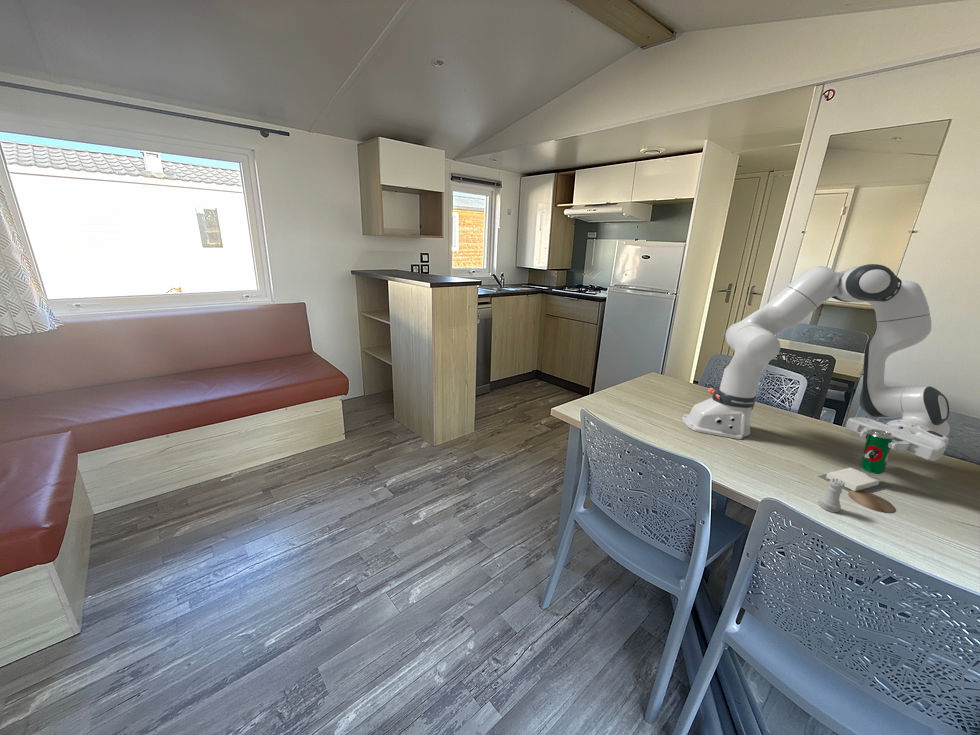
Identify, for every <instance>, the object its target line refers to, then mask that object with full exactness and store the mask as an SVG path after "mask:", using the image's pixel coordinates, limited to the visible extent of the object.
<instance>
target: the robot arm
mask: <svg viewBox="0 0 980 735" xmlns="http://www.w3.org/2000/svg"><path fill="white" fill-rule="evenodd" d="M831 298H832V299H834V300H837V301H839V302H844V303H864V302H866V303H868V304H870V305H871V307H872V308H873V310H874V313H875V320H876V330H875V333H874V335H873V336H872V337H871V338H869V339H868V340H867V342H866V344H865V347H864V348H865V349H864V353H863V354H864V356H863V370H862V384H861V385H862V386H861V391H860V394H859V405H860V406H859V407H860V408H861V409H862V410H863V411H864V412H865V413H866V414H868V415H869V416H870V417H873V418H891V417H892V418H899V419H894V420H890V421H888V422H886V423H884V422H881V421H877V420H875V419H873V418H868V417H864V416H862V417H861V416H859V417H858V416H857V417H849V418H848V419H847V421H846V424H845V428H846V429H847V431H851V432H854V433H856V434H859V438H862V439H865V440H866V439H867V435H868V432H870V430H871V429H878V430H883V431H887V432H890V433H891V434H892V437H893V441H892V442H889V444H888V448H890V450H893V451H894V450H898V451H899V450H900V451H904V452H906V453H909V454H911V455H913V456H916V457H919V458H922V459H924V460H927V461H932V462H935V461H938V460H940V459H941V457H942V456H943V455H944V452H945V451H946V449H947V447H948V444H949V438H948V436H949V434H950V431H951V430H950V429H951V428H950V425H949V424H950V423H949V422H948V421H947V420H948V418H949V415H950V405H949V401H948V398H947V397H946V396H945V395H944V394H943V393H942V392H941V391H940V390H939V389H937V388H936V387H933V386H925V385H923V386H922V385H921V386H918V385H916V386H912V385H910V386H890V385H889V386H888V385H886V384H885V371H886V369H885V368H886V361H887V359H888V358H889V356H891V355H892V354H894V353H896V352H899V351H902V350H905V349H906V348H910V347H912V346H916V345H917V344H919V343H921V342H923V341H924V340H925V339H926V338H927V337H928V336H929V335H930V333H931V331H932V317H931V311H930V307H929V303H928V301H927V300H928V299H927V297H926V295H925V293H924V291H923V289H922V287H921V285H920V284H919V283H918V282H915V281H913V280H901V278H900V277H898V276H897V275H896V274H895V272H893V270H891V268H889V267H887V266H885V265H883V264H876V263H870V264H869V263H868V264H865V265H859V266H854V267H851V268H848V269H846V270H842V271H839V272H837V271H835V270H834V269H833V268H830V267H828V266H821V265H820V266H814V267H812V268H810V269H809V270H807V271H805V272H803V273H802V274H801V275H799V276H798V277H796V278H795V279H794V280H792V282H790V283H789V284H788V285H786V287H784V288H783V289H782V290H781V291H780V292H778V293H777V294H776V296H774V297H773V298H772V299H770V300H769V301H768V302H767V303H765V304H764V305H763V306H762V307H761V308H759V309H757V310H756V311H754V312H753V313H751V314H750V315H747V317H745V318H743V319H742V320H740V321H738V322H735V323H733V324H731V325H730V326H729V327H728V328H727V329H726V331H725V337H724V338H725V340H726V343H727V345H728V347H729V348H731V349H732V350H733V351H734V354H733V356H732V359H731V360H730V362H729V364H728V365H727V366H725V368H724V370H723V374H722V378H721V380H720V381H721V382H720V386H719V388H718V389H716V390H715V388H713V387H709V388H708V390H707V391H708V393H710V395H712V396H711V397H710V398H707V399H705V400H703V401H701V402H697V403H696V404H694V405H693V406H692V408H691V410H690V412H689V413H684V414H683V415H682V418H681V420H682V421H683V423H684V424H685V426H686V427H688V428H690V430H693V431H694V432H698V433H701V434H702V433H703V434H709V435H714V436H718V437H719V436H720V437H724V438H731V439H735V440H742V439H743V438H744V437H747V436H750V435H751V415H752V411H753V409H754V407H755V403H756V398H757V397H756V393H757V390H758V387H759V383H760V380H761V377H762V375H763V373H764V371H765V369H766V368H767V366H768V365H769V363H770V362H771V360H773V359H775V358H776V357H777V355H779V353H780V351H781V342H780V340H779V339H778V337H777V336H776V335H778V334H779V333H780V334H781V333H782V332H784V331H785V330H788V329H792V328H794V327H796V326H797V325H798V324H800V323H801V322H803V320H804V319H805V318H807V317H808V316H809V315H810V314H812V313H813V312H814V311H815V310H816V309H818V308H819V306H821V305H822V304H823V303H825V302H826V301H827V300H829V299H831Z"/></svg>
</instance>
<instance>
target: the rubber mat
mask: <svg viewBox="0 0 980 735" xmlns="http://www.w3.org/2000/svg"><path fill="white" fill-rule="evenodd" d="M826 476H827V473H826V474H822V475H818V476H817V477H818V478H821V479H822V480H824V481H826V482H828V483H829V481H830V480H829V479H827V478H826ZM890 488H891V487H890V486H888V485H886V484H884V483H882V482H881V481H879V484H878V485H876V486H872V487H869V488H865V489H861V490H859V491H864V492H868V493H871V494H874V493H877V492H880V491H884V490H886V489H890ZM843 490H844V491H846V492H847V493H849V491H851V489H849V488H847V487H845V488H844V489H843Z"/></svg>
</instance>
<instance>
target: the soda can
mask: <svg viewBox="0 0 980 735" xmlns="http://www.w3.org/2000/svg"><path fill="white" fill-rule="evenodd" d="M892 441H893V437H892V434H891V433H890V432H887V431H883V430H878V429H871V430H870V432H868V435H867V439H865V443H864V448H863V452H862V457H861V460H860V465H859V466H860V468H861V470H863V471H864V472H867V473H869V474H874V475H882V474H884V473H885V472H886V468H887V464H888V460H889V456H890V452H891V449H890V448H888V444H889V442H892Z"/></svg>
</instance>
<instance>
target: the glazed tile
mask: <svg viewBox="0 0 980 735" xmlns="http://www.w3.org/2000/svg"><path fill="white" fill-rule="evenodd" d="M826 474H827V476H826V478H827V479H829V480H832V478H834V480H835V479H838V481H840V480H841V481H843V482H844V483H845V484H844V485H845V487H847V488H849V489H851V490H853V491H857V490H861V489H865V488H869V487H872V486H876V485H878V484H879V482H881V479H879V478H876V477H874V476H871V475H870V474H867V473H865V472H862V471H860V470H858V469H855V468H853V467H847V468H843V469H839V470H834V471H829V472H827V473H826ZM843 482H842V483H843Z"/></svg>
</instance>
